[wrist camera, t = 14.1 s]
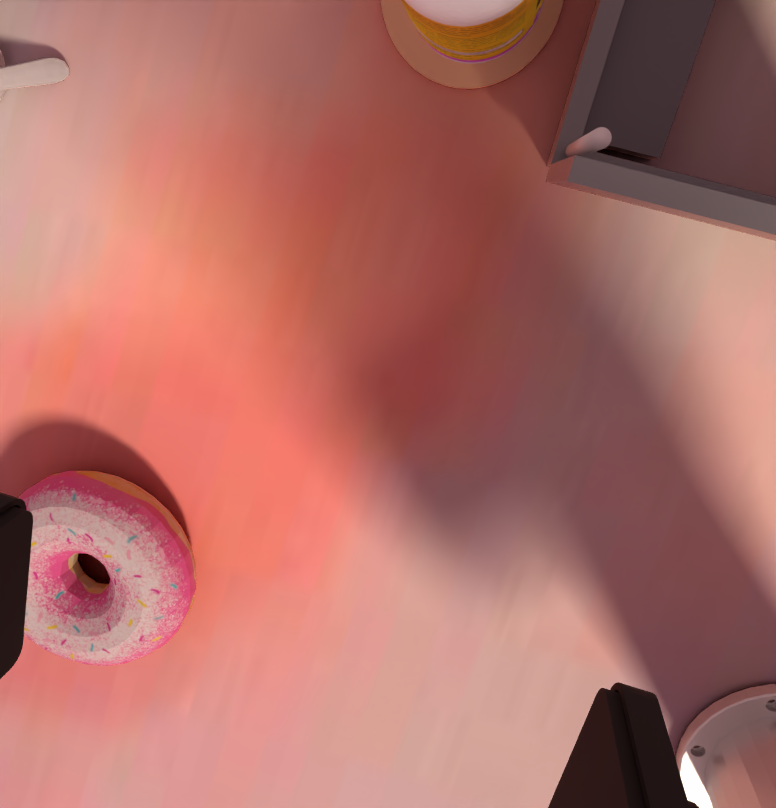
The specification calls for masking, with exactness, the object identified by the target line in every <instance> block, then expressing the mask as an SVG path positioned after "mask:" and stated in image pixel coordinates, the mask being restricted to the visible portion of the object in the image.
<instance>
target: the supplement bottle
mask: <svg viewBox="0 0 776 808" xmlns="http://www.w3.org/2000/svg"><path fill="white" fill-rule="evenodd" d="M401 1H402V3H403V5H404V7H405V9H406V11H407V13H408V15H409V17H410V19H411V21H412V23H413V25H414V27H415V28H416V30H417V32H418V33H419V35H420V36H421V38H422V39H423V40H424V41H425V42H426V44H427V45H428V46H429V47H430V48H432V49H433V50H434V51H435V52H437V53H438V54H440V55H441V56H443V57H445V58H447V59H450V60H452V61H455V62H460V63H466V64H478V63H485V62H488V61H492V60H495V59H497V58H499V57H501V56H503V55H505V54H507V53H508V52H510V51H511V50H513V49H514V48H515V47H516V46H518V45H519V44H520V43H521V42H522V41H523V40H524V39H525V37H526V36H527V35H528V34H529V32H530V31H531V29H532V28H533V26H534V25H535V23H536V21H537V19H538V17H539V15H540V12H541V10H542V7H543V3H544V0H401Z"/></svg>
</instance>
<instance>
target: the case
mask: <svg viewBox="0 0 776 808" xmlns="http://www.w3.org/2000/svg"><path fill="white" fill-rule="evenodd" d="M715 1H716V0H597V1H596V4H595V8H594V11H593V14H592V18H591V21H590V24H589V27H588V31H587V34H586V37H585V41H584V44H583V47H582V51H581V54H580V57H579V61H578V64H577V67H576V70H575V74H574V77H573V80H572V84H571V87H570V90H569V94H568V97H567V100H566V104H565V107H564V110H563V113H562V117H561V120H560V123H559V127H558V130H557V133H556V137H555V140H554V143H553V146H552V150H551V153H550V156H549V160H548V163H547V166H549V167H550V169H549V172H548V175H547V179H546V182H549V183H553V184H557V185H561V186H565V187H569V188H572V189H576V190H580V191H584V192H588V193H592V194H596V195H600V196H603V197H607V198H611V199H615V200H619V201H623V202H627V203H631V204H635V205H638V206H642V207H646V208H650V209H654V210H658V211H662V212H666V213H670V214H673V215H677V216H681V217H685V218H689V219H693V220H697V221H701V222H705V223H708V224H712V225H716V226H720V227H724V228H728V229H732V230H736V231H740V232H743V233H747V234H751V235H755V236H759V237H763V238H767V239H771V240H775V241H776V197H772V196H768V195H764V194H760V193H756V192H752V191H748V190H744V189H740V188H736V187H732V186H728V185H724V184H721V183H717V182H713V181H709V180H705V179H701V178H697V177H693V176H689V175H685V174H681V173H677V172H673V171H669V170H665V169H661V168H657V167H653V166H649V165H645V164H641V163H637V162H633V161H630V160H626V159H622V158H618V157H614V156H610V155H606V154H602V153H598V152H596V151H599V150H602V149H604V148H606V149H610V150H614V151H618V152H622V153H626V154H630V155H634V156H638V157H642V158H646V159H650V160H651V159H658V158H660V157H661V155H662V152H663V149H664V146H665V143H666V140H667V138H668V135H669V132H670V129H671V126H672V123H673V120H674V118H675V115H676V112H677V109H678V106H679V103H680V101H681V98H682V95H683V92H684V89H685V86H686V84H687V81H688V78H689V75H690V72H691V69H692V67H693V64H694V61H695V58H696V55H697V52H698V50H699V47H700V44H701V41H702V38H703V35H704V33H705V30H706V27H707V24H708V21H709V18H710V16H711V13H712V10H713V7H714V4H715Z"/></svg>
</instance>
